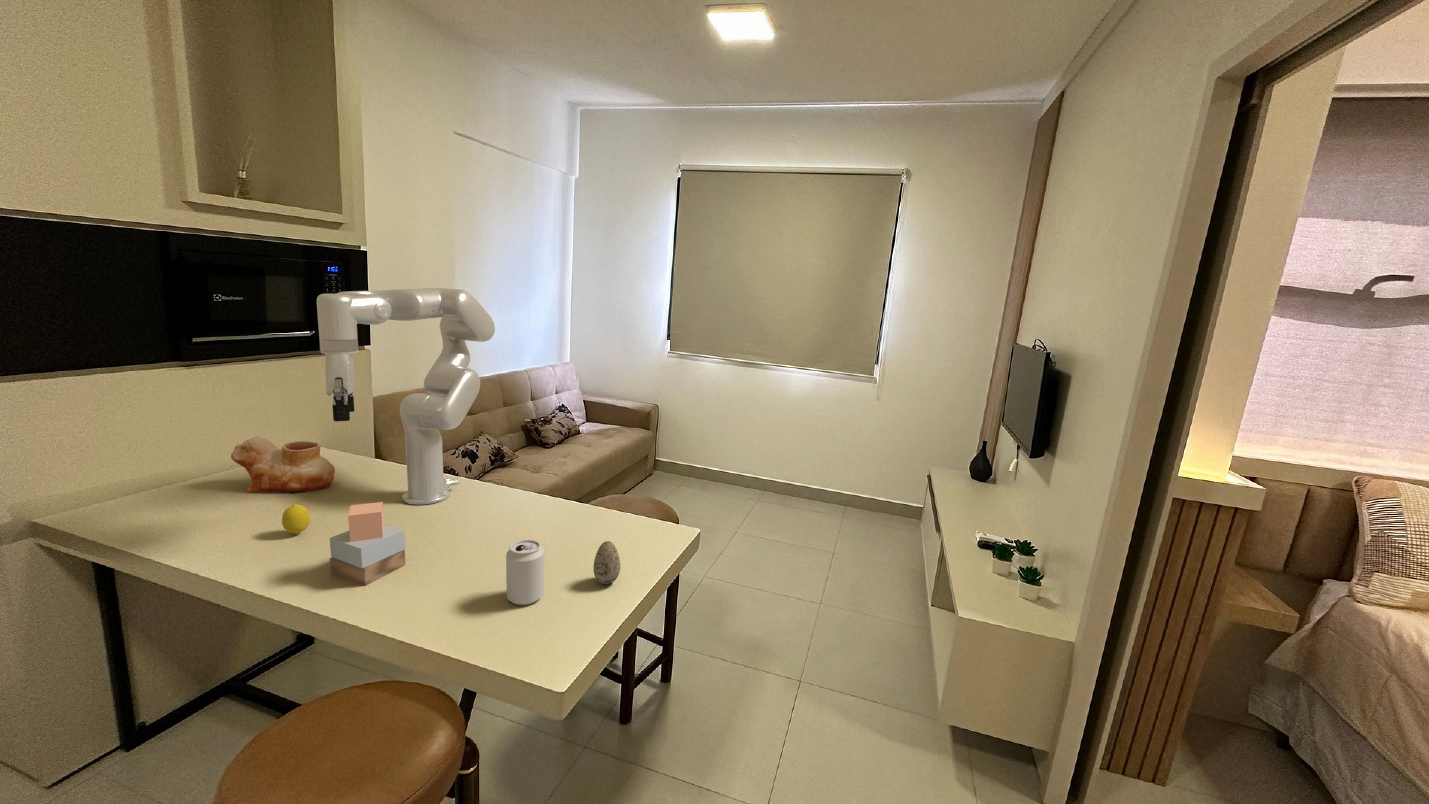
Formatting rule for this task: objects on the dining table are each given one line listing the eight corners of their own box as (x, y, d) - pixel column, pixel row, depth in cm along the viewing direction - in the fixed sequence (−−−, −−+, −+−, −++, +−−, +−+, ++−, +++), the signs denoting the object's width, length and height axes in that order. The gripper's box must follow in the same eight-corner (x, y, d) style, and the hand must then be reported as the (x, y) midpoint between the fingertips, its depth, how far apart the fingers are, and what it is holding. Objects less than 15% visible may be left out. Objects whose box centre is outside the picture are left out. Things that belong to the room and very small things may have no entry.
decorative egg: (621, 588, 122) (622, 546, 120) (594, 590, 120) (595, 548, 118) (618, 574, 127) (619, 534, 125) (592, 576, 125) (593, 536, 123)
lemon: (296, 540, 133) (293, 509, 132) (277, 537, 134) (274, 506, 133) (316, 531, 138) (314, 501, 137) (298, 528, 139) (295, 498, 138)
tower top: (374, 539, 128) (373, 521, 127) (405, 549, 124) (404, 530, 123) (331, 557, 119) (329, 537, 118) (362, 568, 115) (360, 548, 114)
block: (352, 530, 122) (350, 505, 121) (384, 526, 125) (382, 501, 124) (350, 542, 117) (348, 515, 116) (382, 537, 120) (381, 511, 118)
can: (512, 587, 119) (511, 536, 117) (547, 588, 120) (547, 537, 117) (502, 607, 112) (501, 553, 109) (539, 607, 112) (539, 554, 110)
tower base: (372, 557, 128) (371, 539, 128) (405, 566, 125) (404, 548, 125) (331, 577, 119) (329, 558, 118) (365, 587, 116) (364, 568, 115)
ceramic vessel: (255, 477, 171) (250, 431, 168) (345, 479, 174) (342, 433, 171) (221, 493, 157) (215, 443, 154) (320, 495, 161) (316, 446, 158)
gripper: (325, 342, 136) (331, 409, 139) (313, 350, 121) (320, 425, 124) (361, 342, 140) (365, 408, 143) (354, 351, 125) (359, 423, 128)
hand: (344, 416), depth 134 cm, fingers open, 9 cm apart
